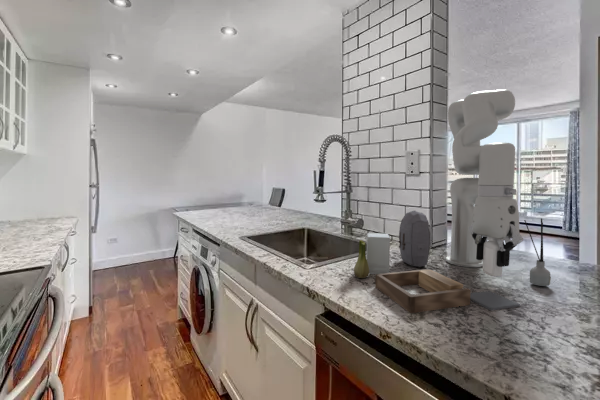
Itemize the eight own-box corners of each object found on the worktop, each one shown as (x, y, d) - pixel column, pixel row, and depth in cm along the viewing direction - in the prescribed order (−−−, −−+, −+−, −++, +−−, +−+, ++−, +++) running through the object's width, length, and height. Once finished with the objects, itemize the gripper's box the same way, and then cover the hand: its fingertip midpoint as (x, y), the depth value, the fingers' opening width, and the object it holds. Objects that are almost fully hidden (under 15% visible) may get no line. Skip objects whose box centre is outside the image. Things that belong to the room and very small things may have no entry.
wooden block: (430, 284, 91) (430, 269, 90) (463, 301, 78) (464, 284, 78) (417, 285, 90) (417, 270, 89) (449, 303, 77) (449, 286, 77)
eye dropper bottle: (480, 274, 76) (482, 228, 76) (482, 269, 81) (484, 225, 80) (501, 278, 74) (503, 230, 73) (502, 272, 78) (504, 226, 78)
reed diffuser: (550, 292, 84) (555, 221, 82) (520, 287, 88) (524, 219, 86) (549, 282, 92) (553, 217, 90) (521, 277, 96) (524, 215, 94)
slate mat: (489, 292, 84) (489, 290, 84) (520, 306, 75) (520, 304, 75) (462, 296, 82) (462, 294, 82) (490, 310, 73) (491, 308, 73)
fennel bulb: (366, 281, 94) (366, 243, 93) (351, 278, 96) (351, 241, 95) (371, 275, 99) (371, 239, 98) (356, 273, 101) (357, 238, 100)
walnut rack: (425, 281, 93) (426, 269, 92) (470, 305, 76) (470, 289, 76) (375, 287, 88) (375, 274, 88) (410, 313, 72) (410, 297, 72)
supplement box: (389, 275, 99) (390, 237, 98) (366, 274, 101) (367, 236, 99) (387, 268, 106) (388, 233, 105) (366, 267, 108) (366, 232, 107)
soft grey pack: (432, 270, 104) (433, 212, 102) (408, 270, 103) (409, 213, 102) (413, 258, 119) (414, 208, 117) (392, 258, 119) (393, 208, 117)
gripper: (541, 194, 69) (536, 271, 70) (479, 190, 85) (476, 253, 87) (515, 194, 67) (511, 274, 68) (457, 191, 83) (454, 255, 85)
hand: (492, 261), depth 77 cm, fingers closed on eye dropper bottle, 5 cm apart
